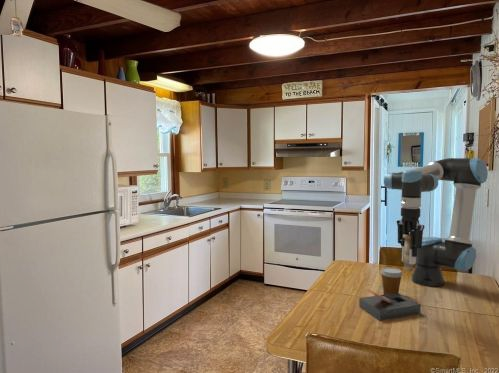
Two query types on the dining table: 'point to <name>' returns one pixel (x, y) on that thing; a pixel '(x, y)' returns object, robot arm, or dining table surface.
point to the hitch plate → (389, 306)
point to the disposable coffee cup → (391, 280)
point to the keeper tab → (380, 296)
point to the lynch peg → (407, 252)
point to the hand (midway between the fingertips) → (408, 262)
